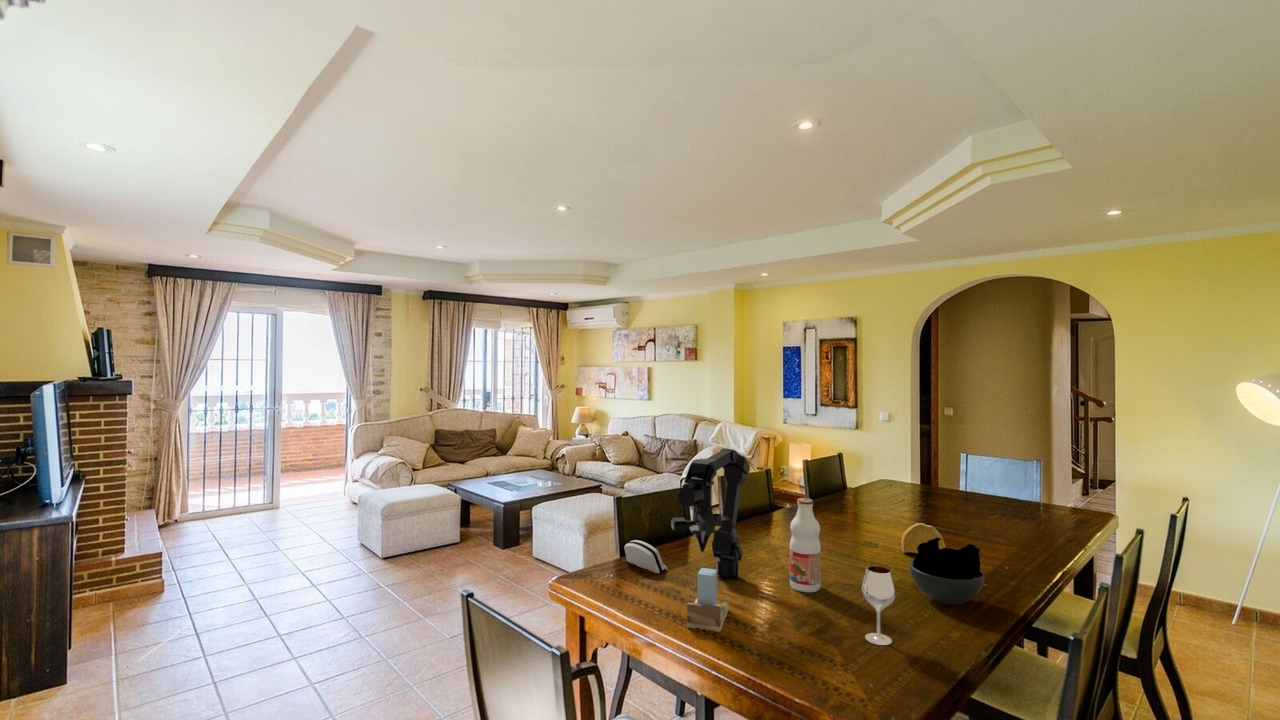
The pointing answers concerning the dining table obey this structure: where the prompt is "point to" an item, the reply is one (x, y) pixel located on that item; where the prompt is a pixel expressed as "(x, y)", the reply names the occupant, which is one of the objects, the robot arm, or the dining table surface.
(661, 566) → the white arched piece
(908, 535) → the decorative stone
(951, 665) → the dining table surface
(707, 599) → the light blue block
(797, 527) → the fruit juice
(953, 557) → the coal bowl
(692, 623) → the channel
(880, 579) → the wineglass
